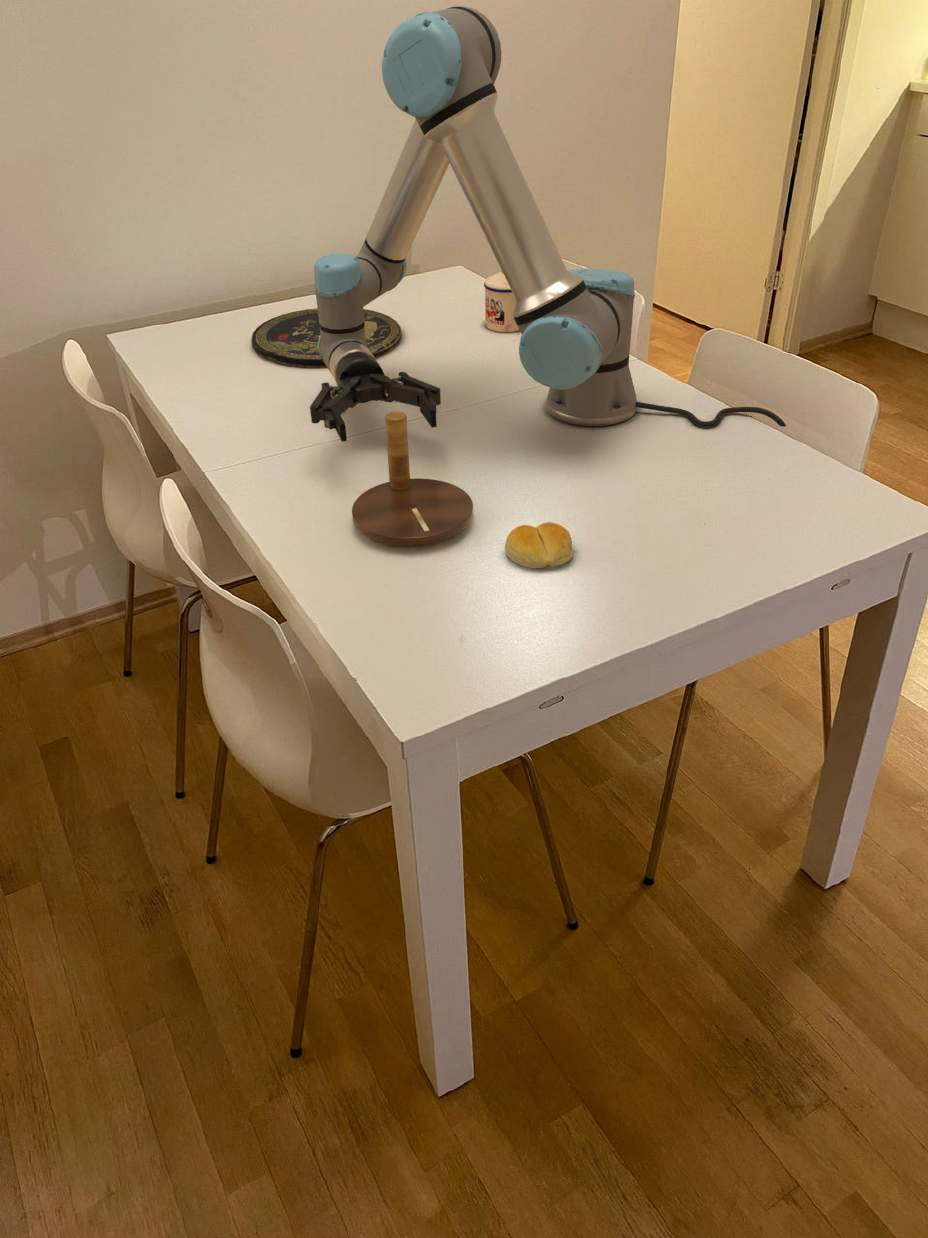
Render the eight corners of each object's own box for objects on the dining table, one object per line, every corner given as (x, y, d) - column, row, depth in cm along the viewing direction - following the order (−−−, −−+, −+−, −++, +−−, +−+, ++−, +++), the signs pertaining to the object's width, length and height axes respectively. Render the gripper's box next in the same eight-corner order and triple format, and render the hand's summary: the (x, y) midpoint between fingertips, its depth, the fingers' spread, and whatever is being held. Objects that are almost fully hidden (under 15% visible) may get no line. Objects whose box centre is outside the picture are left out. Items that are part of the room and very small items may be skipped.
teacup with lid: (475, 323, 208) (474, 266, 201) (511, 314, 212) (511, 258, 205) (509, 340, 200) (510, 281, 193) (546, 330, 204) (547, 272, 197)
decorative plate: (227, 354, 192) (280, 302, 216) (228, 363, 193) (281, 311, 217) (379, 364, 187) (416, 309, 211) (379, 373, 188) (417, 318, 212)
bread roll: (501, 541, 138) (501, 516, 135) (565, 536, 138) (566, 510, 136) (510, 574, 131) (510, 547, 129) (578, 568, 132) (579, 542, 129)
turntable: (489, 532, 137) (489, 450, 130) (368, 555, 133) (361, 472, 126) (452, 477, 150) (449, 400, 143) (340, 496, 146) (332, 419, 139)
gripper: (431, 384, 168) (470, 436, 152) (283, 406, 163) (307, 462, 146) (430, 340, 164) (469, 389, 147) (277, 361, 158) (301, 414, 142)
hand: (389, 425), depth 147 cm, fingers open, 13 cm apart
